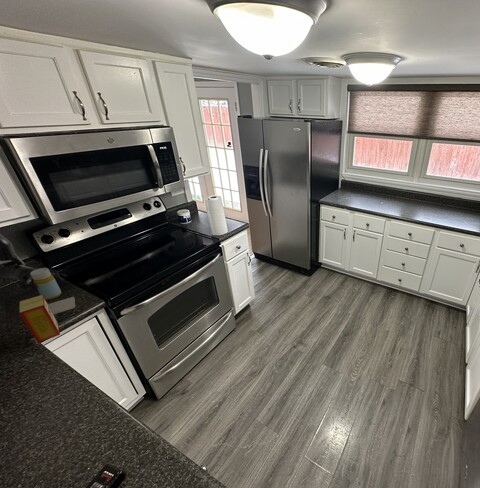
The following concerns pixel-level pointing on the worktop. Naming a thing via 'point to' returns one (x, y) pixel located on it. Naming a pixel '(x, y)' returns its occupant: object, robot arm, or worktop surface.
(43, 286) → the bottle
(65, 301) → the mat
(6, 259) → the robot arm
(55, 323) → the baking soda box
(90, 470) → the worktop surface
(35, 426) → the worktop surface
